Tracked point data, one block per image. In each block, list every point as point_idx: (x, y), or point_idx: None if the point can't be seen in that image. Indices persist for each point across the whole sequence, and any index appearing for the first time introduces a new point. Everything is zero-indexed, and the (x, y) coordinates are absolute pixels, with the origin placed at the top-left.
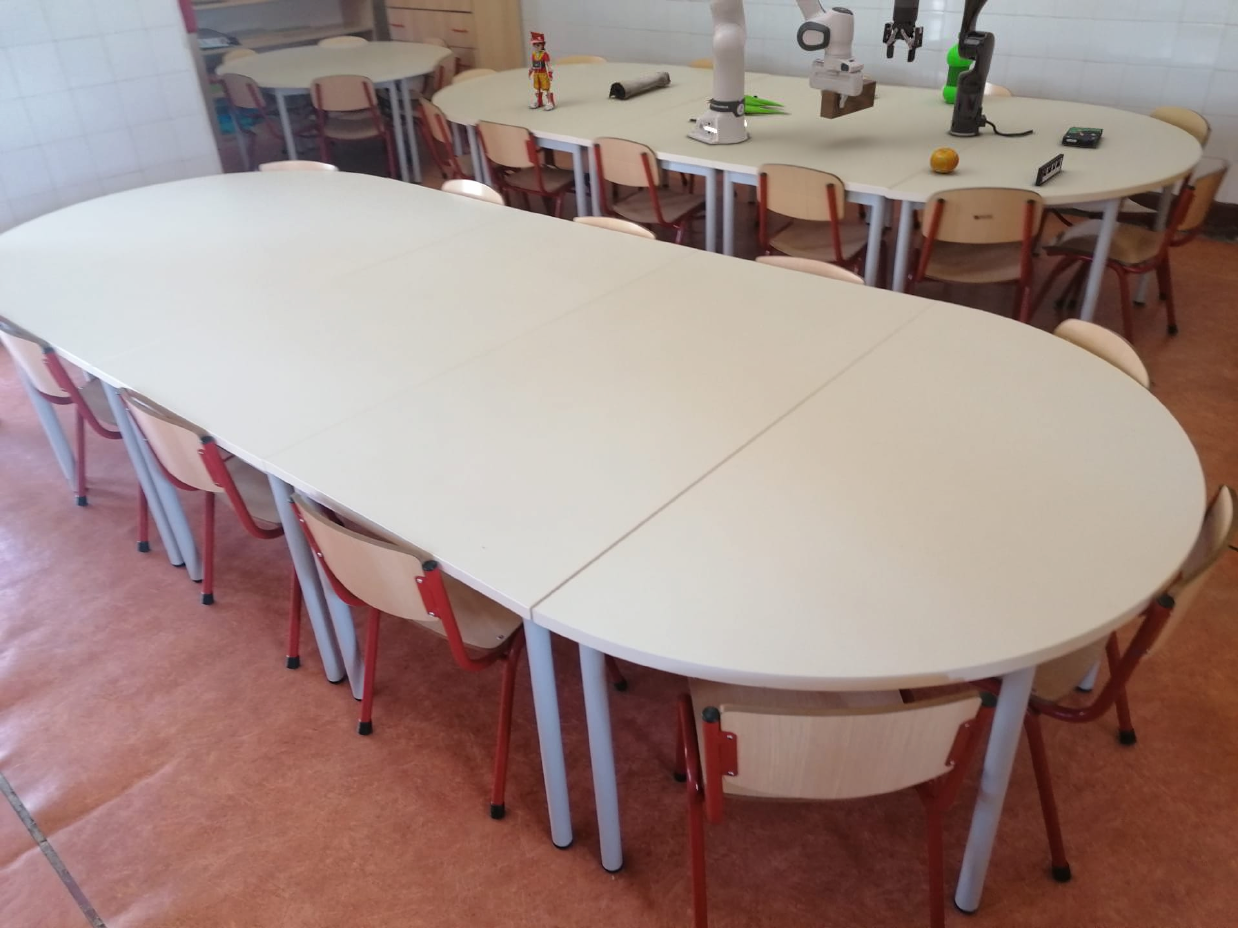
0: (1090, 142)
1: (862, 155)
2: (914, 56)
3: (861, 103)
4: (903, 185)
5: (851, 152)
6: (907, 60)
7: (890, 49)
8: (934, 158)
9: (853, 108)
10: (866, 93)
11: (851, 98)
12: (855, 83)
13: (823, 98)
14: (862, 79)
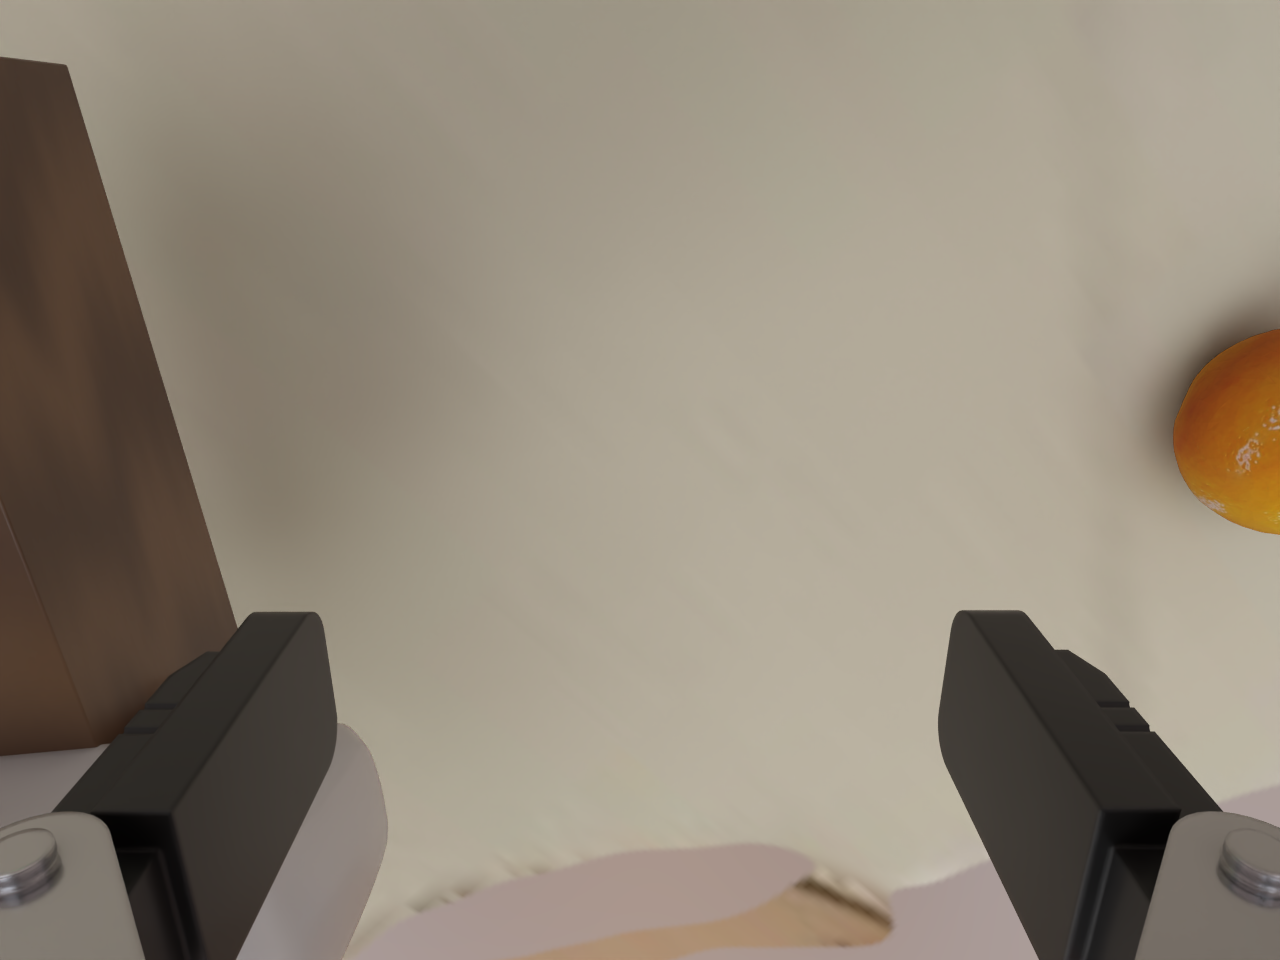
0: None
1: (580, 500)
2: (1128, 722)
3: (97, 322)
4: None
5: (474, 502)
6: (958, 775)
7: (240, 878)
8: (1270, 532)
9: (156, 447)
10: (6, 259)
11: (112, 543)
12: (345, 943)
13: None
14: (296, 847)
